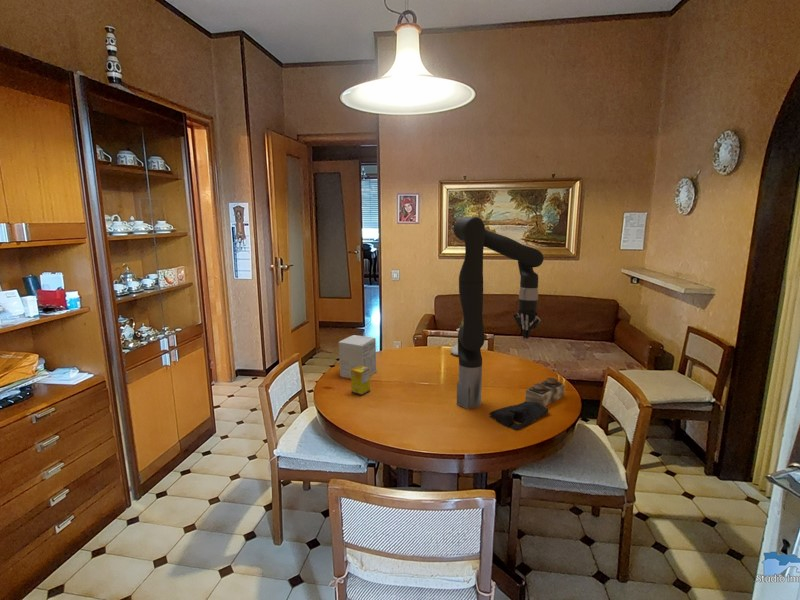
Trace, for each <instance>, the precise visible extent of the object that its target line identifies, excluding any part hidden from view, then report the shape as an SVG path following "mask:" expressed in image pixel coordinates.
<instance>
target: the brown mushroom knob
mask: <svg viewBox="0 0 800 600" xmlns="http://www.w3.org/2000/svg"><path fill="white" fill-rule="evenodd" d="M545 381H546V383H547V384H549V385H557V384H558V382H559V380H558V379H557V378H556V377H555V378H553V377H546V378H545Z"/></svg>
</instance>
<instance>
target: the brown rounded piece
mask: <svg viewBox="0 0 800 600" xmlns="http://www.w3.org/2000/svg"><path fill="white" fill-rule="evenodd" d="M532 387H533V389H534V390H537V391H544V390H546V386H545V385H543V384H539V383H534V384H533V386H532Z"/></svg>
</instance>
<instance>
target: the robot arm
mask: <svg viewBox="0 0 800 600" xmlns="http://www.w3.org/2000/svg"><path fill="white" fill-rule="evenodd" d="M452 229H453V234H454V236H455V237H456V238H457V239H458V240H460V241H463V242H464V248H465V251H464V253H465V255H464V260H463V263H462V265H461V268H460V271H459V275H458V293H459V300H460V304H461V305H460V306H461V310H462V317H464V319H463V322H464V325H463V326H462V327H459V328H460V330H459V332H458V331H457V343H458V355H457V356H458V382H457V383H456V405H458V406H460V407H462V408H465V409H466V410H470V409H476V408H479V407H481V406H482V386H483V385H482V381H483V380H482V379H483V356H482V352H481V351H482V350H481V348H482V347H483V345H484V343H485V340H486V339H485V328H484V321H483V319H484V318H483V307H484V248H487V249H488V250H491V251H493V252H495V253H497V254H500V255H501V256H504V257H506V258H508V259H511V260H513V261H514V260H515V261H517V265H518V271H519V275H520V281H519V283H520V285H519V290H518V291H519V292H518V311H517V313H515V314H513V315H512V316H513V318H514V320H515V322H516V323H517V325H518V327H519V328H522V338H523V339H529V338H530V337H531V330H535V329H536V328H537V327H538V326H539V324H540V323H541V322H542V320H543V319H542V318H540V317H539V316H538V312H537V310H538V303H539V302H538V301H539V275H538V273H537V272H535V271H534V268H538V267H540V266H542V264H543V262H544V255H543V253H542V252H541V251H540V250H538V249H537V248H534V247H531V246H528V245H525V244H522V243H521V242H518V241H516V240H515V239H512V238H510V237H508V236H504V235H502V234H498V233H496V232H492V231H489V230H487V229H486V226H485V222H484V221H483V220H482V218H480V217H478V216H462V217H460V218H458V219H457V220H456V221H455V222H454V224H453V228H452Z"/></svg>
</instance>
